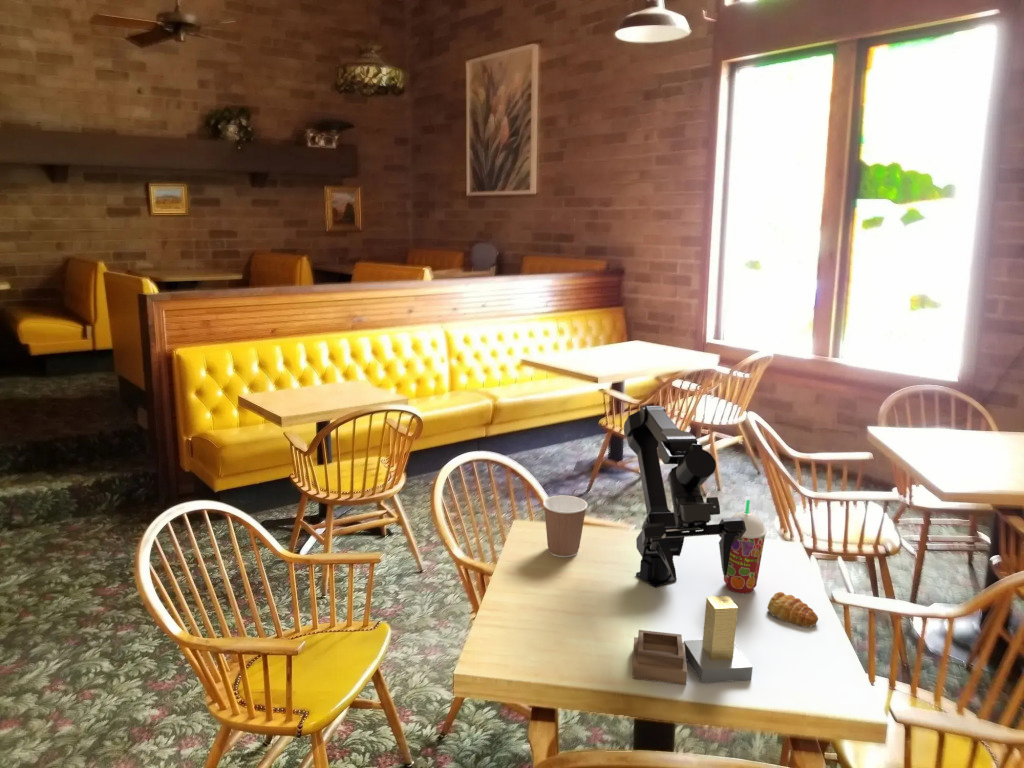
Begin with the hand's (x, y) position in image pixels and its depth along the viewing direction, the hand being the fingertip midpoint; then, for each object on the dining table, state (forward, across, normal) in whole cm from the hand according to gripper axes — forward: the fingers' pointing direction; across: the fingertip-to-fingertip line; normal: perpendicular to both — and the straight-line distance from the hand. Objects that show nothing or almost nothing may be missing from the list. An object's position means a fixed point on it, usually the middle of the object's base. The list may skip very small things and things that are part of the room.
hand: (700, 577), depth 139 cm
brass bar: (+13, +1, +1) cm, 13 cm away
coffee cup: (-16, -24, +35) cm, 45 cm away
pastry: (+5, +20, +18) cm, 28 cm away
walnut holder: (+15, -10, +1) cm, 18 cm away
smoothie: (-2, +13, +26) cm, 29 cm away
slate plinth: (+15, +1, +3) cm, 15 cm away
